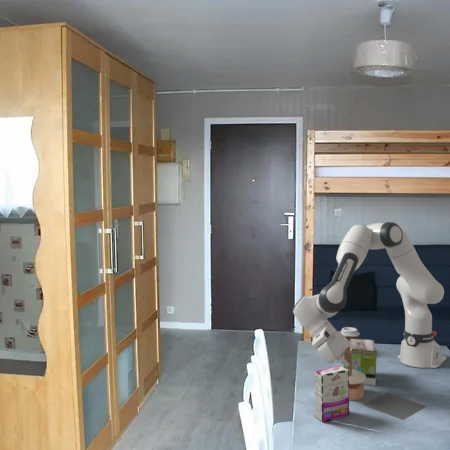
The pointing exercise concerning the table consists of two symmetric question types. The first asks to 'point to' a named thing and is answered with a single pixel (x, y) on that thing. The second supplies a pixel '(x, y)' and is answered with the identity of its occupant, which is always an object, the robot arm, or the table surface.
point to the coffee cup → (350, 334)
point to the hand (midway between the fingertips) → (349, 363)
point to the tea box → (364, 359)
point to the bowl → (356, 391)
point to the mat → (394, 406)
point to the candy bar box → (331, 393)
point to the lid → (354, 375)
